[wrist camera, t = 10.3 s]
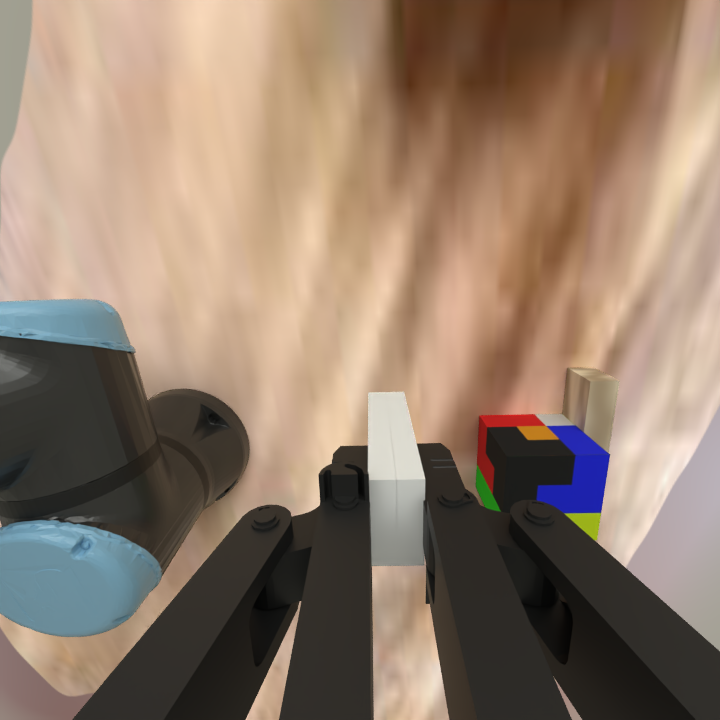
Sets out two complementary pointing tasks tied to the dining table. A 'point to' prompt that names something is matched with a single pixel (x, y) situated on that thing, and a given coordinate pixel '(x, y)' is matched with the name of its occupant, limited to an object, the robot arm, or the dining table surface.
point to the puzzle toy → (541, 466)
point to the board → (591, 402)
